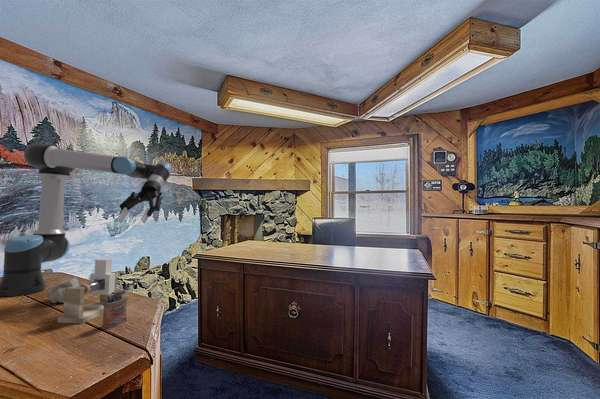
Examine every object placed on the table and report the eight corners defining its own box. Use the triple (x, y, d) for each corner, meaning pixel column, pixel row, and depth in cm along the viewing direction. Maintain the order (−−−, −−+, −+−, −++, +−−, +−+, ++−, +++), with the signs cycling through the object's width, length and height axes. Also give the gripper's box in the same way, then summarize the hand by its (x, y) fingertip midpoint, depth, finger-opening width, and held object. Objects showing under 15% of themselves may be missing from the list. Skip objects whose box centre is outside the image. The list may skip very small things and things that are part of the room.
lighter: (108, 330, 86) (110, 295, 86) (98, 328, 87) (100, 294, 87) (129, 320, 94) (130, 288, 94) (120, 319, 95) (121, 288, 95)
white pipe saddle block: (95, 291, 106) (97, 258, 107) (114, 292, 106) (115, 258, 106) (89, 294, 103) (91, 259, 104) (108, 294, 103) (110, 260, 103)
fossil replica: (47, 307, 105) (81, 304, 113) (52, 284, 106) (85, 282, 113) (41, 298, 113) (73, 295, 120) (45, 276, 113) (77, 275, 121)
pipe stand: (99, 304, 109) (100, 275, 109) (120, 305, 109) (121, 276, 109) (57, 322, 91) (59, 288, 91) (82, 323, 91) (84, 288, 91)
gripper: (178, 192, 140) (160, 227, 123) (133, 192, 140) (109, 226, 124) (173, 180, 135) (154, 215, 118) (126, 179, 135) (100, 214, 119)
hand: (131, 220), depth 121 cm, fingers open, 9 cm apart
